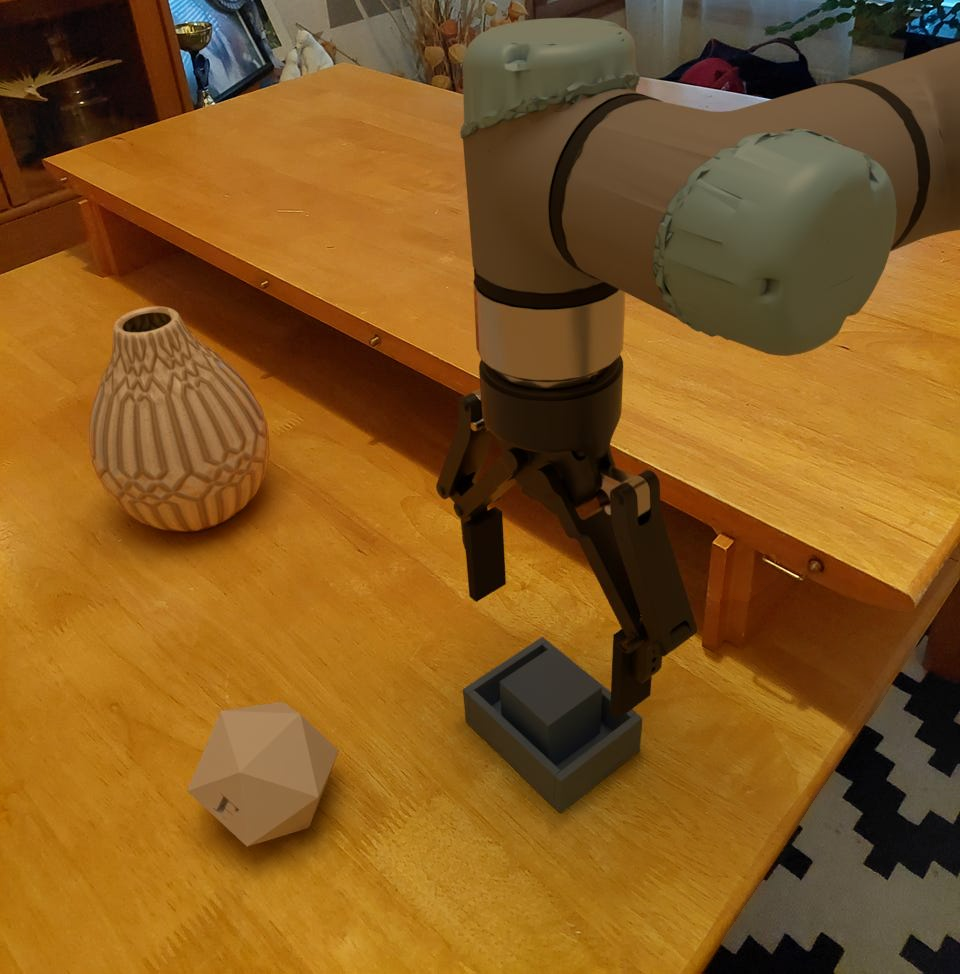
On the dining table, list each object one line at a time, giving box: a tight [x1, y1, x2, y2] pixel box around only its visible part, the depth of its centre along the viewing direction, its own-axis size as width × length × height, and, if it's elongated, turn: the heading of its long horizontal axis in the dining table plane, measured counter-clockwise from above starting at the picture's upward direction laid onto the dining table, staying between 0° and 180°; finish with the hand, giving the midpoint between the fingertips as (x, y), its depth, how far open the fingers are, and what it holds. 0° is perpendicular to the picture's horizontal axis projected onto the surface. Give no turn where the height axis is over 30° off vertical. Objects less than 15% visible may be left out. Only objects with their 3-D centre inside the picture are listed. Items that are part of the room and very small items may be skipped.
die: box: [186, 701, 340, 847], centre depth 61 cm, size 8×9×10 cm
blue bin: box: [462, 636, 644, 814], centre depth 66 cm, size 10×8×4 cm
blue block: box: [500, 647, 602, 766], centre depth 65 cm, size 5×5×5 cm
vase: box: [88, 305, 270, 533], centre depth 85 cm, size 16×16×20 cm
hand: (553, 643), depth 61 cm, fingers open, 13 cm apart
